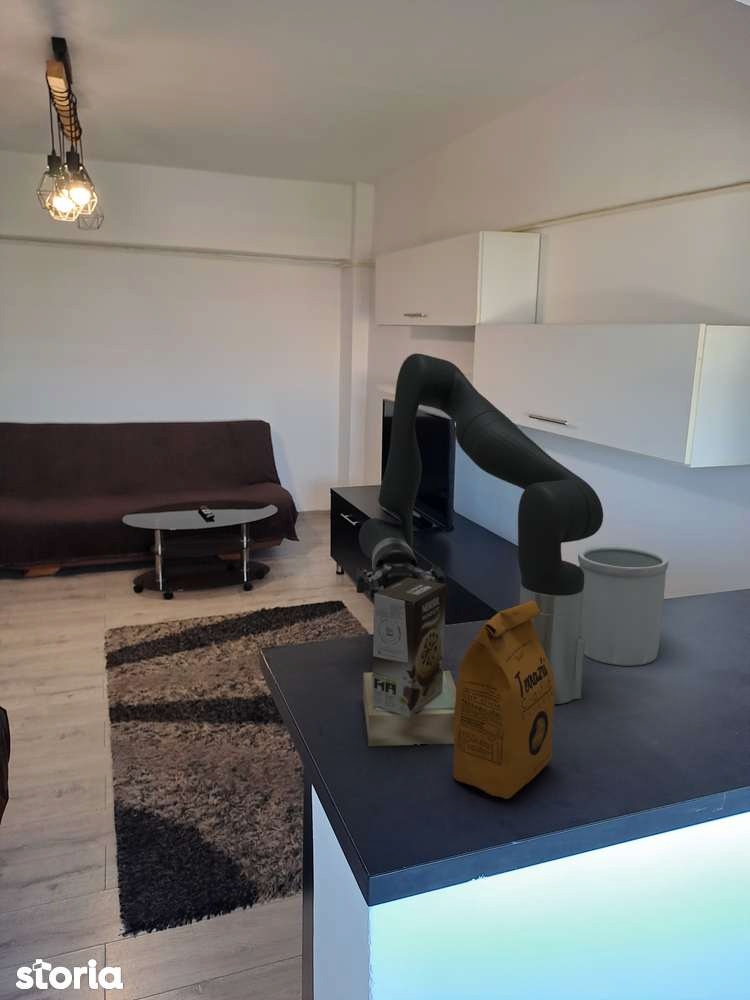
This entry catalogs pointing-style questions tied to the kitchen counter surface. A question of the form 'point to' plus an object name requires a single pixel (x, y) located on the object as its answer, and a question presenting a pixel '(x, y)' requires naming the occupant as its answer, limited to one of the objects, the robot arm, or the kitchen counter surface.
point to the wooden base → (411, 719)
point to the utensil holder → (622, 603)
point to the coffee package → (504, 705)
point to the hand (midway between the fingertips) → (404, 594)
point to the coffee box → (408, 645)
